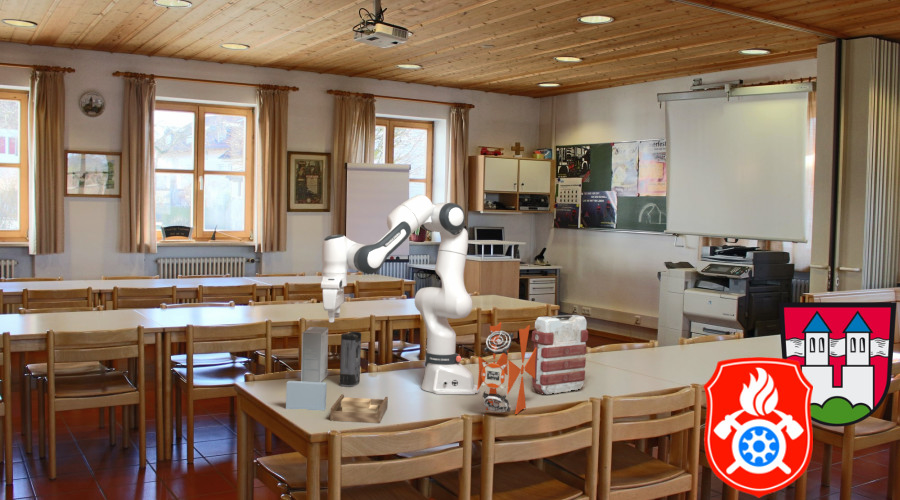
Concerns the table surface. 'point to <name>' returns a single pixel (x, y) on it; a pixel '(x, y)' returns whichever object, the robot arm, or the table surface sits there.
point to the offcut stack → (358, 405)
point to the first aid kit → (559, 353)
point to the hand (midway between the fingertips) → (334, 319)
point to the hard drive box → (314, 354)
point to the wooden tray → (359, 416)
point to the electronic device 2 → (504, 370)
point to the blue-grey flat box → (306, 395)
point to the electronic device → (350, 359)
